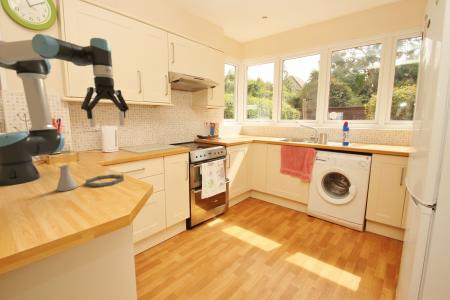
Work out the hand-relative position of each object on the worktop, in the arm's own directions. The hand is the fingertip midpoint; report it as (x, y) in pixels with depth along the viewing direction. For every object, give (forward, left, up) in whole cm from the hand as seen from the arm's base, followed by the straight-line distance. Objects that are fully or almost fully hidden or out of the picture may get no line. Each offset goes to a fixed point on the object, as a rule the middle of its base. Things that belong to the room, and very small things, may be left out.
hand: (108, 126), depth 96 cm
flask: (-11, -14, -26) cm, 32 cm away
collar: (-3, -2, -26) cm, 26 cm away
